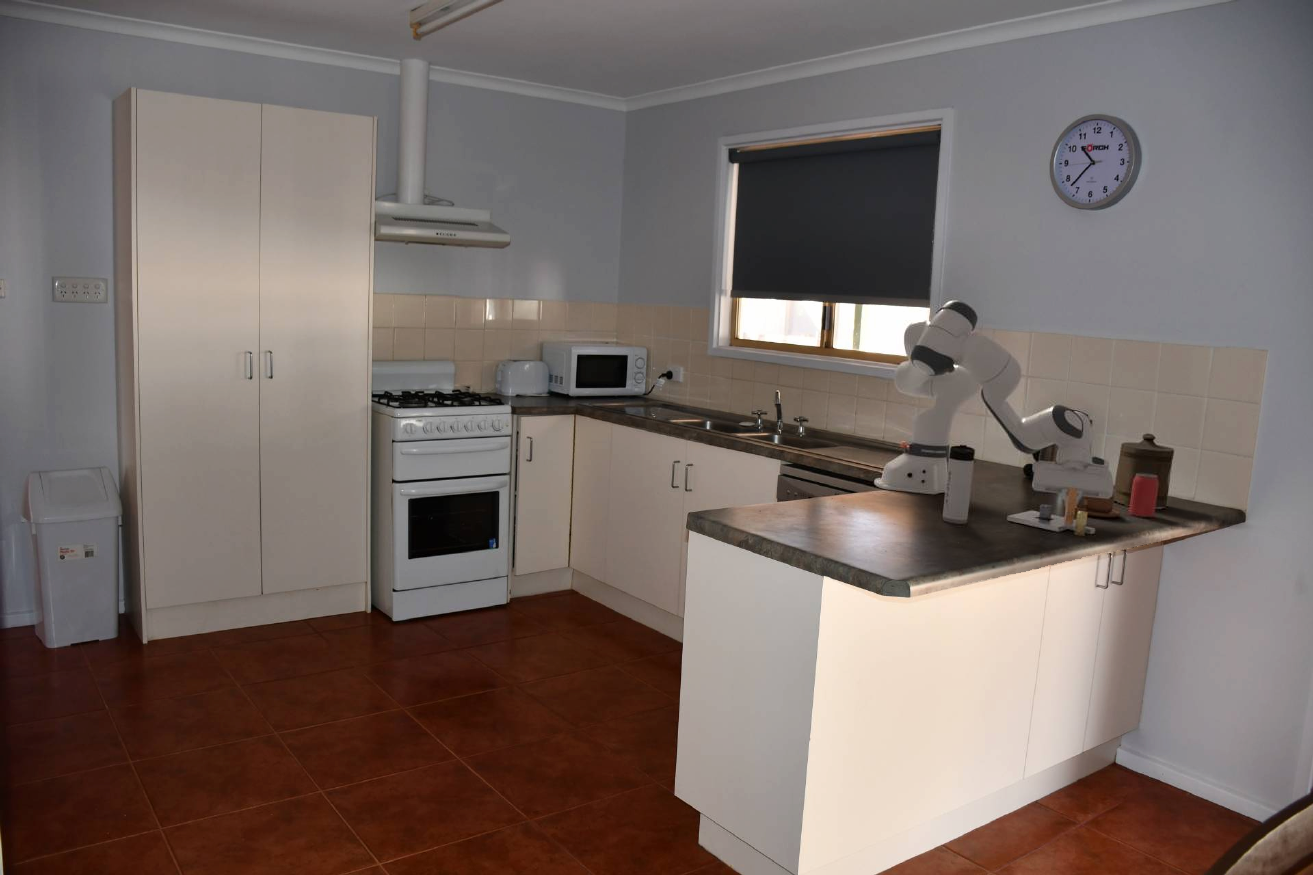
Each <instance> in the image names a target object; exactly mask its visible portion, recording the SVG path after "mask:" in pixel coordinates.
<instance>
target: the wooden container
mask: <svg viewBox="0 0 1313 875" xmlns="http://www.w3.org/2000/svg"><path fill="white" fill-rule="evenodd" d="M1142 439H1143V440H1141V441H1139V442H1130V441H1129V442H1122V443H1121V444H1120V451H1119V456H1118V461H1117V462H1118V463H1117V469H1116V473H1115V480H1114V485H1113V494H1112V495H1113V496H1114V500H1115V501H1117V502H1120V503H1122V504H1125V505H1130V500H1131V493H1132V486H1133V480H1134V478H1135V476H1136V474H1137V473H1146V474H1152V475H1156V476H1158V477H1157V479H1158V483H1159V485H1158V492H1157V499H1156V506H1155V508H1156V507H1165V506H1166V507H1167V502H1168V495H1169V490H1170V483H1171V482H1170V480H1171V472H1172V467H1173V466H1172V465H1173V460H1174V454H1175V449H1174V448H1172V447H1169V446H1165V445H1158V444H1157V443H1156V442H1155V441H1154V440H1156V436H1155V435H1154V434H1153V433H1144V434H1143V435H1142Z"/></svg>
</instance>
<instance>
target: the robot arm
mask: <svg viewBox="0 0 1313 875" xmlns="http://www.w3.org/2000/svg"><path fill="white" fill-rule="evenodd" d="M978 319H979V318H978V315H977V312H976V311H975V310H974V308H972V307H971V306H970V305H968V304H967V303H966V302H963V301H960V300H950V301H948V302H946V303H945V304H944V305H942V306H941V307H940V308H939V309H938V310H937V311H936V312H935V315H934V316H933V318H932V319H931V320H925V319H919V320H916V321H914V322H911V323H909V325H908V326H907V327H906V329H905V331H904V334H903V344H904V346H903V347H904V350H905V353H906V357H907V361H902V362H901V363H900V364H899V365H898V366H897V367H896V369H895V371H894V374H893V383H894V386H895V388H896V389H897V391H898V392H899V393H901V394H905V395H907V396H911V397H917V398H924V399H925V398H926V399H934V400H935V403H934V405H933V406H932V407H930V408H927V409H924V410H922V411H920V412H919V413H917V414H916V415H915V417H914V419H913V421H912V422H913V424H912V433H911V440H910V441H908V442H906V441H904V440H902V441H901V442H900V447H901V448H903V453H902V454H900V455H899V456H897V457H895V458H894V459H892V460H890V461H888V462H887V463H886V464H885V465H884V468H883V471H882V474H881V478H880V477H878V478H875V479H874V482H873V484H874V486H876V487H878V488H881V489H883V490H890V491H899V492H909V493H916V494H917V493H919V494H929V495H937V494H940V493H941V494H942V493H944V494H945V491H946V481H947V472H948V463H949V456H950V448H951V446H950V444H949V443H950V435H951V429H952V425H953V422H954V418H955V416H956V415H957V413H958V411H959V410H960V409H961V408H962V407H963V406H964V405H965V404H967V403H969V401H971V400H972V399H974V398H975V397H976V396H977V394H978V393H979V391H980V396H981V399H982V401H983V403H984V405H985V406H986V408H987V409H988V411H989V412H990V413H991V415H992V416H993V418H994V419H995V420H996V422H998V423H999V425H1000V426H1001V427H1002V429H1003V430H1004V432H1005V433H1006V435H1007V436H1008V438H1009V440H1010V442H1011V444H1012V445H1013V447H1014V448H1015V449H1016V450H1017V451H1019V452H1021V453H1024V454H1025V455H1026V454H1027V455H1032V454H1034V453H1037V452H1038V451H1040V450H1042V449H1044V448H1046V447H1049V446H1051V445H1056V446H1057V447H1058V448H1057V451H1056V461H1046V460H1038V461H1035V462H1034V463H1032V472H1033V478H1032V485H1031V488H1032V489H1033V490H1034V491H1037V492H1046V493H1054V494H1055V493H1056V494H1060V497H1061V498H1062V500H1063V501H1064V507H1066V504H1067V496H1068V488H1069V487H1072V488H1077V489H1078V490H1077V498H1076V506H1075V509H1076V508H1077V505H1078V504H1079V500H1080V499H1081V498H1082V497H1086V496H1088V497H1096V498H1105V499H1109V498H1110V497H1111V496H1112V495H1113V493H1114V479H1113V473H1112V471H1111V470H1110V469H1109V468H1110V467H1109V466H1110V462H1109V460H1107V459H1104V458H1102V457H1100V456H1097V455H1094V454H1093V453H1091V448H1092V444H1093V434H1092V433H1093V432H1092V426H1091V421H1090V419H1089V417H1088V416H1087V414H1085V413H1083V412H1081V411H1075V410H1072V409H1071V408H1070V407H1067V406H1066V405H1061V404H1056V405H1052V406H1051V407H1048V408H1046V409H1043V410H1041V411H1039V412H1036V413H1034V414H1032V415H1029V416H1027V417H1024V416H1023V417H1022V416H1019V415H1018V414H1017V413H1016V411H1015V409H1013V407H1012V406H1011V405H1010V404H1009V402H1008V400H1007V399H1008V398H1009V397H1010V396H1011V395H1012V394H1014V392H1015V390H1016V389H1017V388H1018V386H1019V384H1020V382H1021V378H1022V368H1021V367H1022V366H1021V364H1020V363H1019V361H1018V360H1017V359H1016V357H1015V356H1014V355H1012V354H1011V353H1010V352H1009V351H1008V350H1007V349H1006V347H1005V348H1004V346H1003V345H1001V344H1000V343H999V342H997V341H996V340H994V339H993V338H991V337H990V336H989V335H986V334H984V333H983V332H974V333H972V332H973V331H974V330H975V328H976V325H977V323H978ZM981 387H982V388H981Z"/></svg>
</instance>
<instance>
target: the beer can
mask: <svg viewBox="0 0 1313 875" xmlns="http://www.w3.org/2000/svg"><path fill="white" fill-rule="evenodd" d="M1157 477H1158V476H1156V475H1152V474H1146V473H1137V474H1136V476H1135V478H1134V480H1133V486H1132V493H1131V500H1130V507H1128V508H1129V509H1128V513H1129V515H1131V516H1133V515H1135V516H1134V517H1137V516H1139V517H1138V518H1143V517H1151V518H1153V517H1154V516H1155V511H1156V510H1155V506H1156V499H1157V492H1158V485H1159V483H1158V479H1157Z"/></svg>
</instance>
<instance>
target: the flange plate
mask: <svg viewBox="0 0 1313 875" xmlns="http://www.w3.org/2000/svg"><path fill="white" fill-rule="evenodd" d="M1077 490H1078V489H1077V488H1072V487H1069V488H1068V494H1067V504H1066V506H1065V514H1064V516H1060V515H1055V514H1051V520H1050V521H1047V520H1042V519H1039V512H1040V511H1036V510H1027V511H1024V512H1020V513H1019V512H1018V513H1014V514H1010V515H1007V516H1006V517H1007V518H1006V520H1007V521H1009V522H1014V523H1019V524H1023V525H1027V526H1030V527H1035V528H1041V529H1044V530H1049V531H1053V532H1062V531H1065V530H1070V531H1075V527H1076V519H1075V512H1076V507H1075V506H1076V498H1077ZM1095 533H1096V528H1095V527H1091V526H1086V529H1085V534H1088V535H1089V534H1090V535H1092V534H1095Z"/></svg>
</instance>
